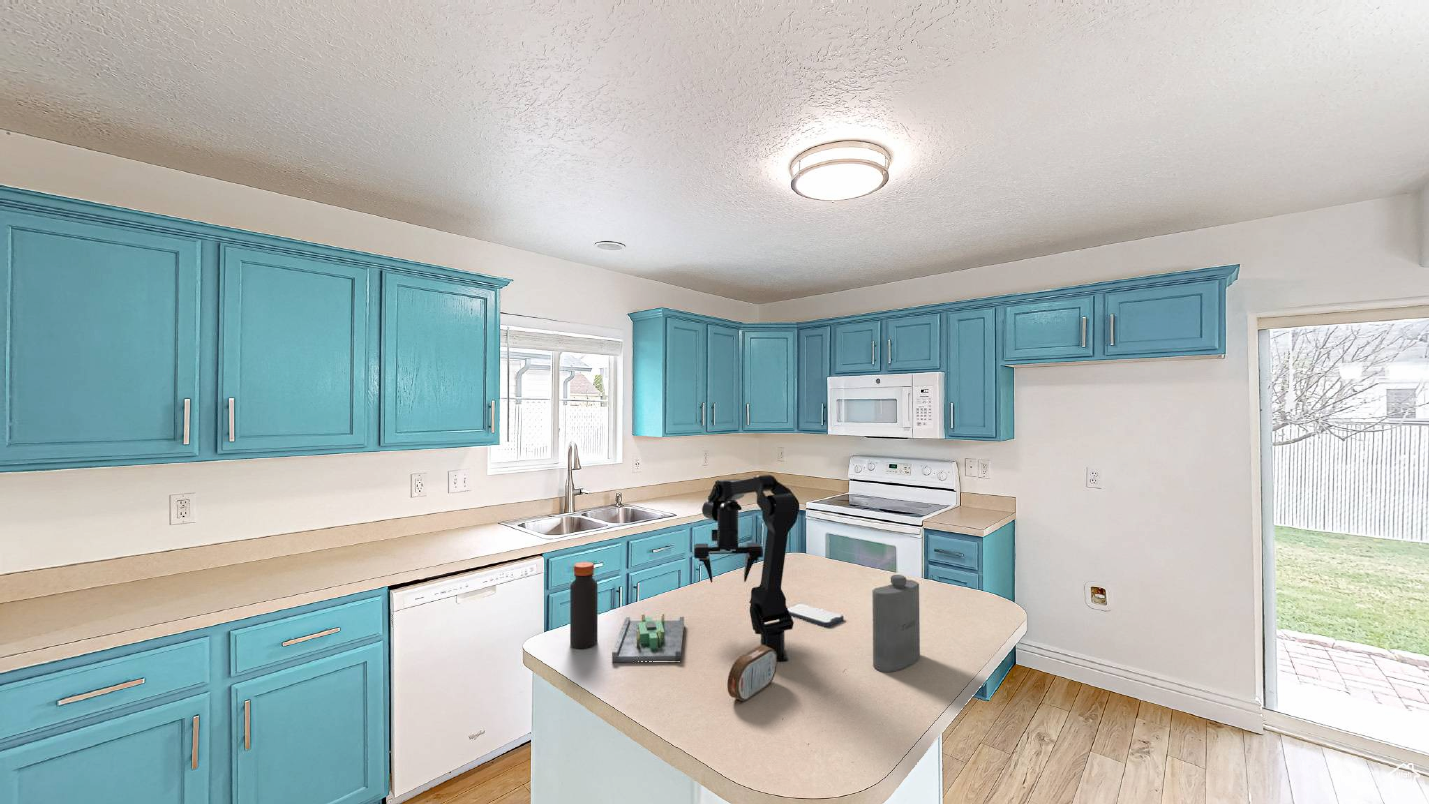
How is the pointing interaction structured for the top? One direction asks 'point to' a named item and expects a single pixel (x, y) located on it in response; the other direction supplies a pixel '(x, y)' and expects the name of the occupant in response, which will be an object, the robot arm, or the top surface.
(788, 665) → the top surface
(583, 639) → the bottle
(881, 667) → the flask
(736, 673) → the tin
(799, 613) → the phone case
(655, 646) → the green block piece
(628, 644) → the chassis
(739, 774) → the top surface
